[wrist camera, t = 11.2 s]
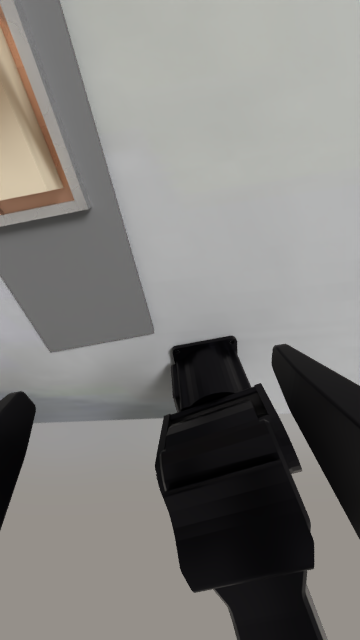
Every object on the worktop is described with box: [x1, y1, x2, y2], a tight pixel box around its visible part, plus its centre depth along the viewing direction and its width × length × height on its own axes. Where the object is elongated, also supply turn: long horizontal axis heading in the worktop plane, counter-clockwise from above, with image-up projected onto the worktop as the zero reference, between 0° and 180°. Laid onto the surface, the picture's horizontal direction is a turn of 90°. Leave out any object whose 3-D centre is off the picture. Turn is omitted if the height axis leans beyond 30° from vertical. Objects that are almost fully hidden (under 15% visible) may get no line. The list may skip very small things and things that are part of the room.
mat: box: [0, 0, 154, 352], centre depth 16 cm, size 10×22×1 cm, turn 9°
